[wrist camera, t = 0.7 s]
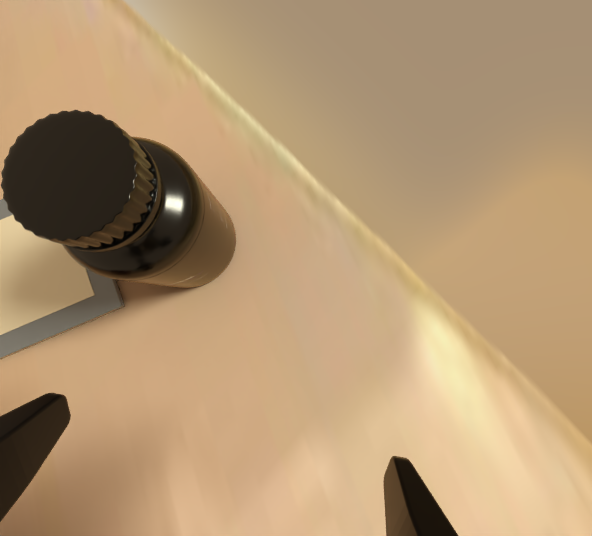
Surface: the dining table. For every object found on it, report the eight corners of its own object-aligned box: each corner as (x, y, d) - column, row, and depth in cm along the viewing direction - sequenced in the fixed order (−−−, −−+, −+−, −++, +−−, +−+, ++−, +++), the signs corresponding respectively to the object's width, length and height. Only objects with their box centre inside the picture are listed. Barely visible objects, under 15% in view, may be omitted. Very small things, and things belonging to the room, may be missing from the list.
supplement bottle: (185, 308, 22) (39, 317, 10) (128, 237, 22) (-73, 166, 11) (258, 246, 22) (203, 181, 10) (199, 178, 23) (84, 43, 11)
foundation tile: (124, 306, 22) (120, 306, 21) (-19, 367, 22) (-26, 368, 21) (77, 171, 23) (72, 169, 23) (-59, 228, 23) (-67, 227, 22)
